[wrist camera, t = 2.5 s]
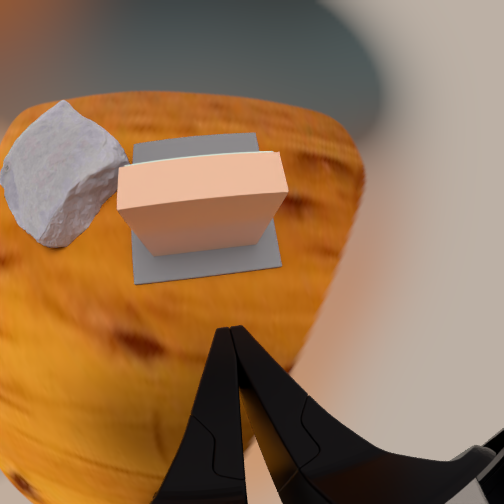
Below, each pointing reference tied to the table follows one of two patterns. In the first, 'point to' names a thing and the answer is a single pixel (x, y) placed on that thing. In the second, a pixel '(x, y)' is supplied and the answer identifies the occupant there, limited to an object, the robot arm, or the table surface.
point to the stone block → (60, 175)
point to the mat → (208, 260)
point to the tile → (201, 200)
